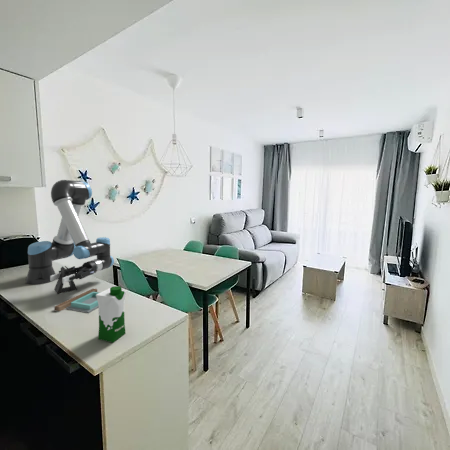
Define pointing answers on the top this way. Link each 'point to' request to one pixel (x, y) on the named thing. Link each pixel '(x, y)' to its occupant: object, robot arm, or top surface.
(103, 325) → the milk carton
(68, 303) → the strip
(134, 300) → the top surface
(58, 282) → the phone stand
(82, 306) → the cradle
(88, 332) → the top surface
